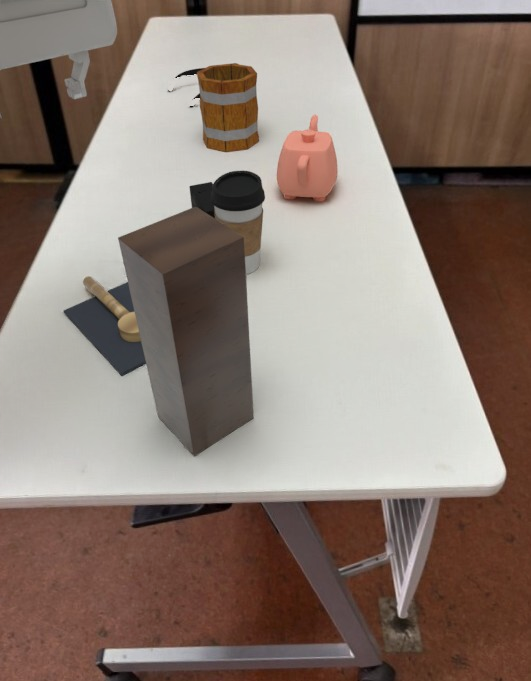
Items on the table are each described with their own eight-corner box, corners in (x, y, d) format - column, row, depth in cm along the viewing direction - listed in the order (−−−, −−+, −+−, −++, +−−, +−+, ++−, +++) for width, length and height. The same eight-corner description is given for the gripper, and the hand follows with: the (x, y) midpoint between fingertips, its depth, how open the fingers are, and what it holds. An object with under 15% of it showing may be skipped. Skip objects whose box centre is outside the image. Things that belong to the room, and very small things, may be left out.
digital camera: (186, 220, 107) (182, 186, 103) (214, 215, 109) (211, 180, 104) (201, 248, 100) (197, 213, 95) (231, 242, 101) (228, 206, 97)
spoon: (73, 290, 91) (71, 280, 90) (101, 278, 93) (98, 269, 92) (130, 347, 81) (128, 337, 79) (159, 332, 83) (157, 322, 82)
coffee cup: (275, 257, 98) (273, 174, 88) (253, 284, 92) (249, 199, 82) (231, 246, 100) (225, 165, 90) (207, 272, 95) (198, 189, 85)
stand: (157, 417, 71) (117, 237, 54) (216, 382, 76) (195, 206, 58) (194, 456, 67) (162, 274, 49) (254, 418, 71) (244, 237, 54)
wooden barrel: (255, 153, 129) (252, 83, 119) (196, 151, 131) (189, 82, 121) (266, 120, 144) (265, 55, 134) (213, 118, 145) (208, 55, 135)
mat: (63, 313, 87) (63, 310, 87) (132, 282, 93) (131, 279, 93) (121, 376, 77) (121, 373, 77) (195, 337, 83) (195, 334, 82)
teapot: (331, 215, 108) (335, 153, 100) (269, 211, 109) (268, 150, 101) (340, 168, 122) (344, 111, 114) (285, 165, 124) (285, 109, 116)
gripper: (-126, -30, 45) (-55, 143, 54) (109, -59, 54) (135, 92, 63) (-144, -39, 48) (-75, 124, 57) (79, -65, 58) (107, 79, 67)
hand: (36, 107), depth 60 cm, fingers open, 8 cm apart
